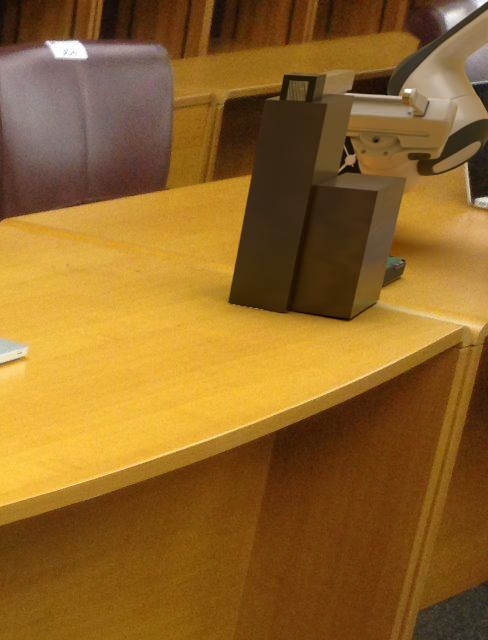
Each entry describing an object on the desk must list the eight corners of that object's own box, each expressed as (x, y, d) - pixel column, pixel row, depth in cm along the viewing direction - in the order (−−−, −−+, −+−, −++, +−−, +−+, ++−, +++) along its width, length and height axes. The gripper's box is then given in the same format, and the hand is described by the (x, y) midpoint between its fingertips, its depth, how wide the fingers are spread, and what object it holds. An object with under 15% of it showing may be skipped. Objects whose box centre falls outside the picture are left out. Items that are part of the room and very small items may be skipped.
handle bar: (358, 89, 204) (363, 65, 202) (312, 102, 190) (317, 76, 189) (326, 87, 206) (331, 64, 205) (278, 99, 192) (283, 74, 191)
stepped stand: (378, 300, 207) (425, 96, 196) (345, 321, 196) (392, 107, 185) (265, 285, 216) (303, 89, 204) (227, 305, 205) (265, 99, 193)
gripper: (318, 108, 235) (304, 65, 223) (465, 118, 223) (457, 73, 212) (305, 147, 235) (290, 107, 224) (450, 159, 223) (442, 117, 212)
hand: (373, 90), depth 218 cm, fingers open, 8 cm apart
